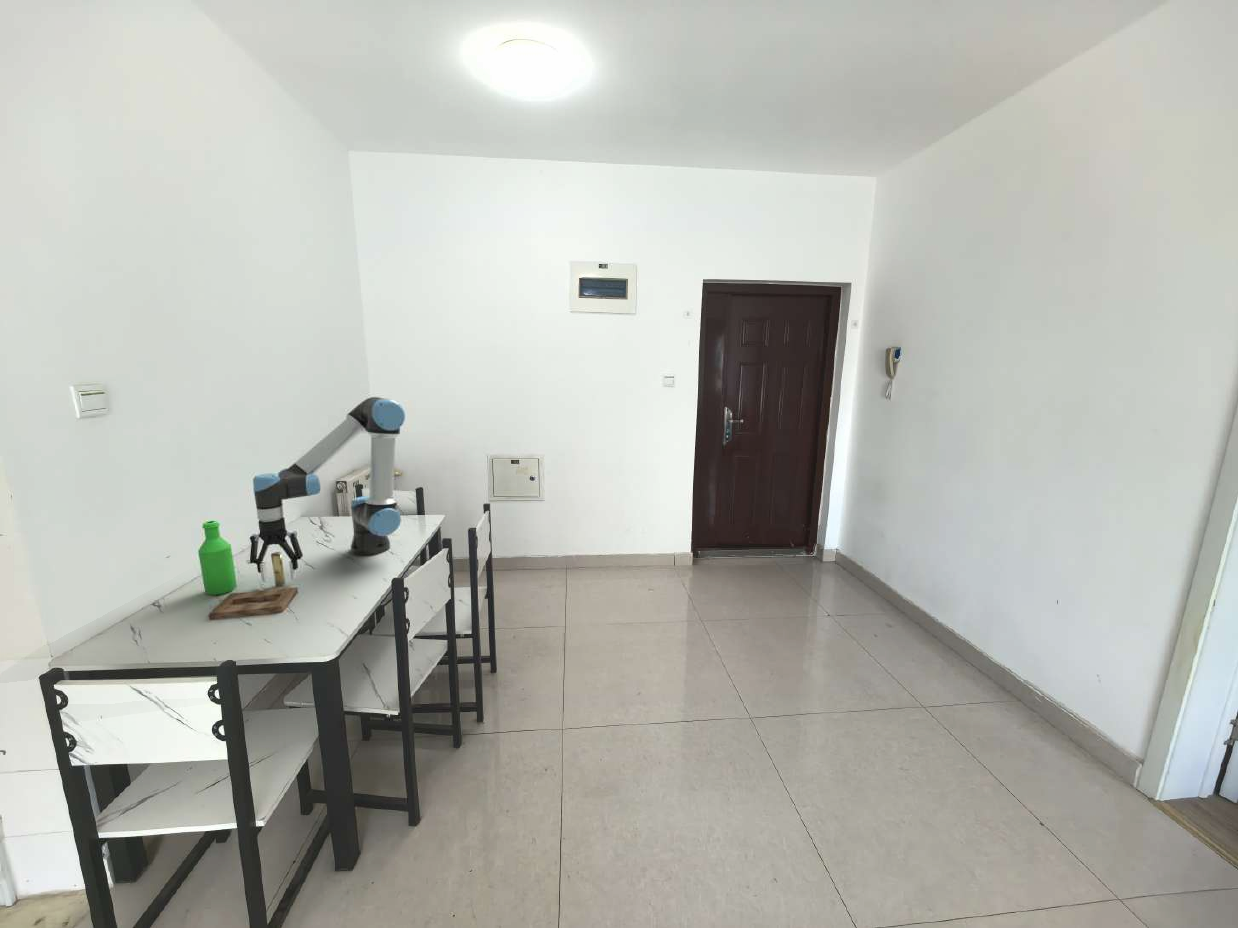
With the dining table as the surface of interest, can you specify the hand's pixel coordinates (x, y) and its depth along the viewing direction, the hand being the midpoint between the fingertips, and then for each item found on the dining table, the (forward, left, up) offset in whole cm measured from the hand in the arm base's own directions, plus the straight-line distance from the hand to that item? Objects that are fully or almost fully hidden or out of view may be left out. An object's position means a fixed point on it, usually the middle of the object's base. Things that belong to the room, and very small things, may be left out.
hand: (279, 579), depth 179 cm
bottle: (+18, 0, -3) cm, 18 cm away
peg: (0, 0, -2) cm, 2 cm away
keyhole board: (+2, +15, -2) cm, 15 cm away
